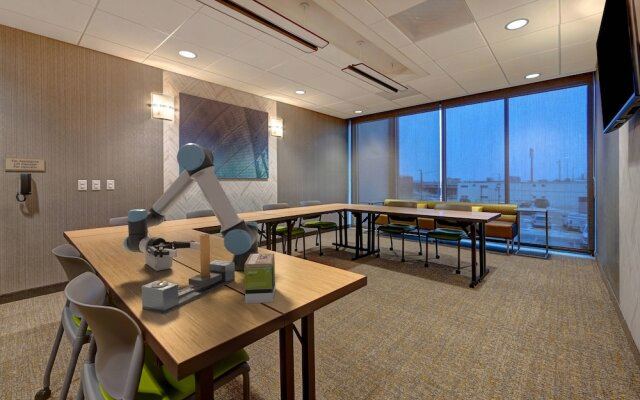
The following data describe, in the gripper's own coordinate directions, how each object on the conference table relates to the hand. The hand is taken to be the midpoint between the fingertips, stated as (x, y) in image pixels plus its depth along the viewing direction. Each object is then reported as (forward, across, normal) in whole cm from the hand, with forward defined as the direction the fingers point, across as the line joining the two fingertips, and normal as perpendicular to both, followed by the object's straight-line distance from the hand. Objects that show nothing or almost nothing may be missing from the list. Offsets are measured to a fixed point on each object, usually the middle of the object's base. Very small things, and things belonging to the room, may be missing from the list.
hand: (189, 250), depth 122 cm
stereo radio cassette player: (-37, -14, -15) cm, 43 cm away
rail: (+8, +6, -15) cm, 18 cm away
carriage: (+8, 0, -13) cm, 15 cm away
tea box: (+33, -2, -15) cm, 37 cm away
